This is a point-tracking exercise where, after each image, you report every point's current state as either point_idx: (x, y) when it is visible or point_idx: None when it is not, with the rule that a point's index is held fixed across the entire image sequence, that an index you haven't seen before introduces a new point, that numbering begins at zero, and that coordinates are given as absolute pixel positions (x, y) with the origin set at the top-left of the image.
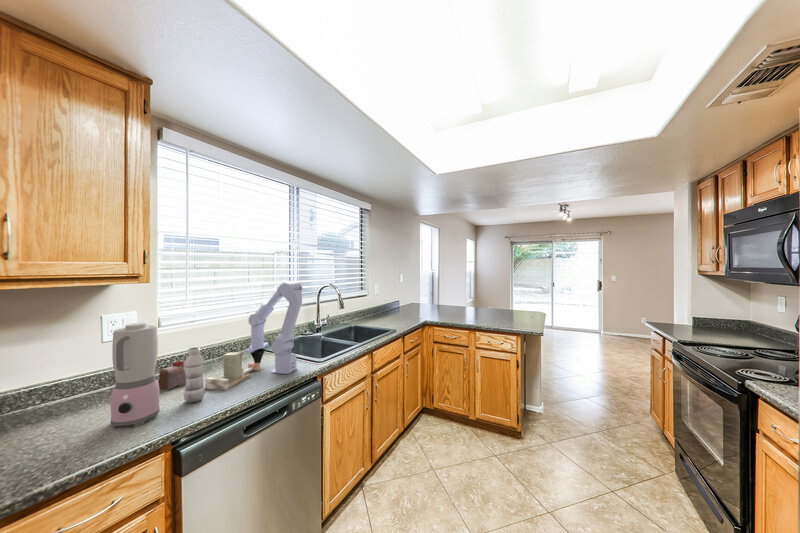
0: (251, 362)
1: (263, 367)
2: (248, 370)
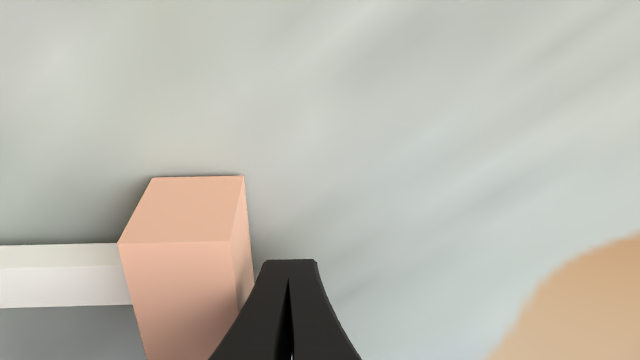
0: (217, 248)
1: (343, 295)
2: (29, 301)
